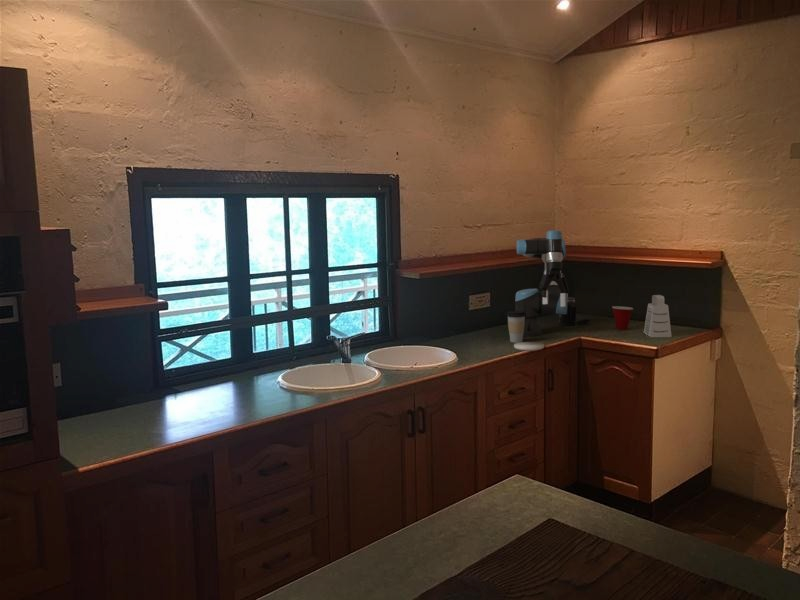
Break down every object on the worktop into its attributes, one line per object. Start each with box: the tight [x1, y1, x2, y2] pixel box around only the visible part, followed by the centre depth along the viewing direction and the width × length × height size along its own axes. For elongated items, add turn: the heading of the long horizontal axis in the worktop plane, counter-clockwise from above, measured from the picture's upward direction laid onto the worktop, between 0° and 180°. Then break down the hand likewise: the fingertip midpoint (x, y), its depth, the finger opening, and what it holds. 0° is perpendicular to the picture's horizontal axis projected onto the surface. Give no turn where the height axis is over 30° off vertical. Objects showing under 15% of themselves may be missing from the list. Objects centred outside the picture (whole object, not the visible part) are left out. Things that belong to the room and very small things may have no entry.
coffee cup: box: [506, 309, 526, 344], centre depth 339 cm, size 9×9×15 cm
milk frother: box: [558, 296, 591, 326], centre depth 383 cm, size 14×16×15 cm
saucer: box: [513, 341, 545, 351], centre depth 325 cm, size 14×14×1 cm
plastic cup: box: [611, 305, 634, 331], centre depth 365 cm, size 11×11×12 cm
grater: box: [643, 294, 672, 338], centre depth 346 cm, size 10×10×20 cm
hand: (554, 305), depth 332 cm, fingers open, 13 cm apart
